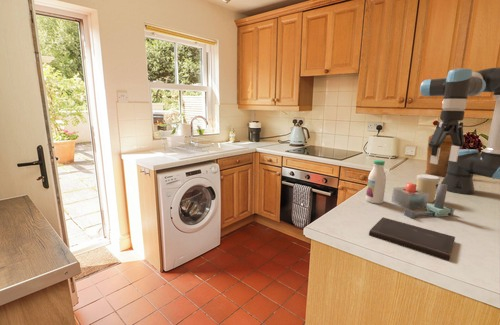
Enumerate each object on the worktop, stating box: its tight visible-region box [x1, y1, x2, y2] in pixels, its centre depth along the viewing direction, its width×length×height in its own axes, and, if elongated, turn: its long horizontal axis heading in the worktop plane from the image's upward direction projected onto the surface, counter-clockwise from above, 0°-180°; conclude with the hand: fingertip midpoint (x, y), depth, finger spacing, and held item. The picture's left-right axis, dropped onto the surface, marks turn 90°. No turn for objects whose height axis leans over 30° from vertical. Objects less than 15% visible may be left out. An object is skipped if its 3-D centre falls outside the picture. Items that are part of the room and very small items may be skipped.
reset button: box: [405, 182, 417, 193], centre depth 122 cm, size 4×4×6 cm
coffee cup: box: [415, 173, 440, 203], centre depth 130 cm, size 9×9×12 cm
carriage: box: [425, 183, 451, 218], centre depth 111 cm, size 6×6×13 cm
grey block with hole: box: [390, 186, 429, 210], centre depth 123 cm, size 10×10×7 cm
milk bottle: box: [365, 159, 387, 205], centre depth 125 cm, size 8×8×20 cm
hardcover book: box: [368, 217, 456, 262], centre depth 91 cm, size 16×23×2 cm
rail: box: [403, 205, 455, 220], centre depth 111 cm, size 21×4×3 cm, turn 102°
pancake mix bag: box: [425, 134, 466, 178], centre depth 177 cm, size 7×19×28 cm, turn 49°
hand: (443, 162), depth 109 cm, fingers open, 13 cm apart
